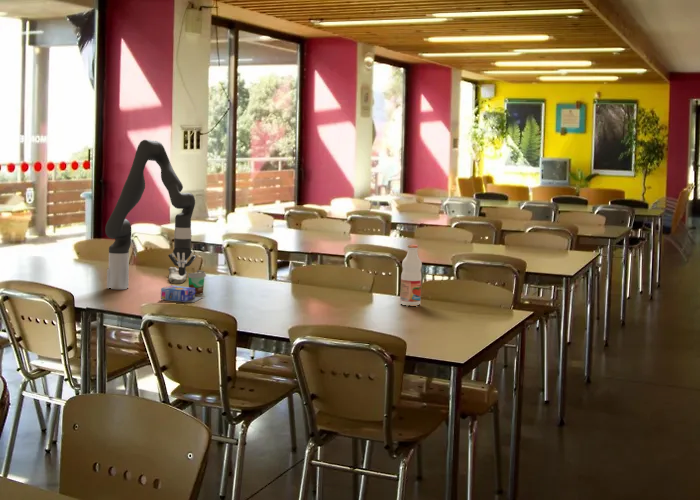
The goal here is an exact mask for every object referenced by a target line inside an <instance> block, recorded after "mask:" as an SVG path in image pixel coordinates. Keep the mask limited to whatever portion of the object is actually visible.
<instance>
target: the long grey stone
mask: <svg viewBox="0 0 700 500" xmlns="http://www.w3.org/2000/svg"><path fill="white" fill-rule="evenodd" d="M168 274H169V275H168V280H169V282H170V284H177V285H180V284H183V283H184V282H185V281H186V280H187V278H188V272H187V270H186V273H185V274H184V276H180V274H179V268H177V266H170V267H168Z"/></svg>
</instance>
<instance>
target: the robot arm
mask: <svg viewBox="0 0 700 500" xmlns="http://www.w3.org/2000/svg"><path fill="white" fill-rule="evenodd" d="M148 161H153V162H156V164H157V165H158V166H159V169H160V178H161V182H162V183H163V186H164V187H165V189H166V190H167V192H168V196H169V200H170V203H171V205H172V207H174V208H175V209H177V210H179V209H182V210H181V212H180V213H177V214H175V216H174V218H175V219H174V230H173V231H174V232H173V235H174V236H173V250H172V252H171V253H170V254H168V257H169V259H170V260H171V262H172V263H173V264H174V267H178V269H179V274H180V276H184V274H185V273H186V271H187V270H186V269H187V267H189V266H191V265H192V264H193V262H194V261H195V259H196V258H197V255H194V254H193V251H192V217H193V214H194V209H195V206H196V198H195V196H194V194H192V192H182V191H183V188H184V186H183V184H182V181H181V180H180V178H179V177H178V175H177V173H176V172H175V171H174V168H173V166H172V164H171V161H170V159H169V156H168V154H167V151H166V149H165V147H164V144H162V143H161V142H160V141H158V140H151V139H142V140H141V141H140V142H139V143H138V146H137V148H136V151H135V154H134V157H133V162H132V165H131V168H130V170H129V173H128V176H127V178H126V179H125V183H124V185H123V188H122V189H121V193H120V194H119V198H118V200H117V202H116V204H115V207H114V209H113V211H112V213H111V214H110V216H109V217H108V219H107V222H106V224H105V228H104V229H105V230H104V231H105V235H106V236H107V238H109V239H112V240H113V239H114V242H113V243H112V244H111V245H110V246H109V247H108V268H107V269H106V289H109V288H111V289H110V290H127V288H128V289H129V286H130V285H129V273H130V272H129V271H130V270H129V266H130V265H129V263H130V262H129V259H130V258H129V257H130V256H129V252H130V248H131V246H132V245H131V243H132V225H131V221H129V220H128V219H127V216H128V215H129V213H130V212H131V211H132V210H133V209H134V208H135V207H136V205H137V204H138V203H139V202H140V201H141V199H142V197H143V193H144V192H145V189H146V181H145V180H146V179H145V174H144V170H145V168H146V165H147V162H148Z"/></svg>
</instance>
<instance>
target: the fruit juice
mask: <svg viewBox="0 0 700 500" xmlns="http://www.w3.org/2000/svg"><path fill="white" fill-rule="evenodd" d="M418 249H419V245H418V244H413V243H412V244H411V243H410V244H407V253H406V256H405V257H404V258H403V259H402V263H401V267H402V272H401V275H400V291H399V292H400V296H399V304H403V305H419V304H420V305H421V300H422V299H421V297H422V272H421V270H422V267H423V263H422V260H421V258H420V257H419V253H418Z"/></svg>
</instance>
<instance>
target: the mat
mask: <svg viewBox="0 0 700 500" xmlns="http://www.w3.org/2000/svg"><path fill="white" fill-rule="evenodd" d="M203 298H204V297H203V296H195V299H192V300H188V301H185V302H184V303H196V302H197V301H199V300H202V299H203ZM165 301H166V302H173V301H172V300H165ZM176 302H178V303H179V302H180V303H183V302H182V301H176Z"/></svg>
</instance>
